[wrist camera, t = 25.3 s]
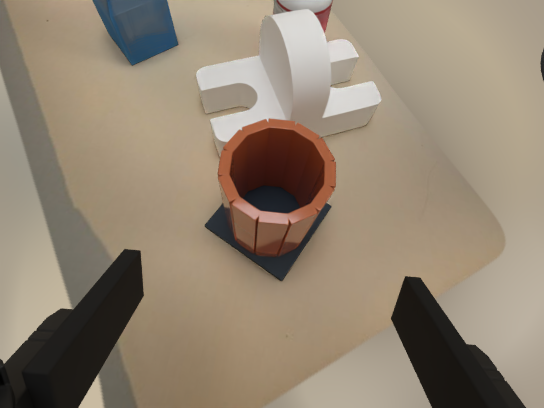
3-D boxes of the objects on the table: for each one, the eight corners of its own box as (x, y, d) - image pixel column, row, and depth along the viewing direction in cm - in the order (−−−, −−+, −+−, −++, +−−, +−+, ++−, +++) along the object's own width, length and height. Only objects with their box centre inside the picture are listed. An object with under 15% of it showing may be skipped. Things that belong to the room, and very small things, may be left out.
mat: (330, 208, 32) (331, 205, 31) (281, 281, 29) (282, 280, 28) (258, 161, 33) (259, 159, 33) (205, 227, 30) (204, 225, 30)
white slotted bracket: (199, 93, 36) (179, 3, 26) (339, 62, 39) (370, -28, 29) (221, 163, 33) (209, 92, 23) (372, 123, 36) (419, 45, 26)
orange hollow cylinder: (324, 207, 31) (356, 157, 22) (280, 273, 28) (294, 248, 19) (259, 165, 32) (263, 101, 23) (211, 224, 30) (193, 178, 20)
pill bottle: (317, 36, 41) (341, -62, 30) (319, 72, 38) (345, -21, 28) (270, 33, 40) (277, -68, 30) (269, 69, 38) (277, -26, 28)
